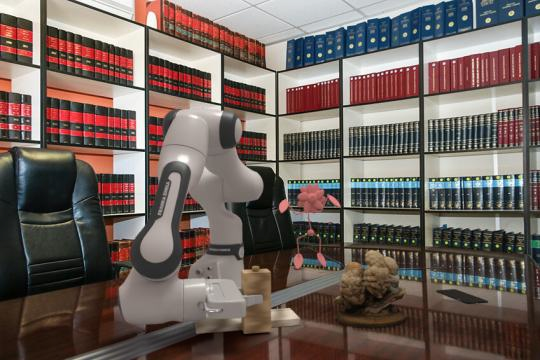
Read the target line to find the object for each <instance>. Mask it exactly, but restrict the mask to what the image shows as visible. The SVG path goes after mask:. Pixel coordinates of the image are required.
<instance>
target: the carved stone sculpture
mask: <svg viewBox="0 0 540 360" xmlns="http://www.w3.org/2000/svg"><path fill="white" fill-rule="evenodd" d="M364 261H365V263H366V268H365V267H364V266H363V265H362V264H360V263H359V262H356V261H350V262H348V263H346V266H345V268H344V269H345V270H344V273H343V274H341V277H340V284H339V292H340V294H341V295H337V297H335V298H334V299H335V300H334V302H335V303H336V304H337V305H341V306H343V309H341V310H340V311H339V313H337V314H336V315H335V318H336V321H337V322H338V323H339V324H341V325H343V326H345V327H350V328H360V329H361V328H367V329H372V328H389V327H394V326H397V325H401V324H403V323H404V322H405V321H406V315H405V314H404V313H403V312H402V311H401V310H400V309H398V308H397V307H396V306H395V304H393V303H394V302H397V301H399V300H402V299H403V297H404V295H406V294H407V291H406V287H405V286H400V276H399V274H398V273H399V270H400V269H399V268H400V267H399V265H398V263H397V260H396V259H394V258H392V257H390V256H384V255H383V254H381V252H379V251H377V250H373V249H370V250H368V251H367V252H366V253H365V254H364Z"/></svg>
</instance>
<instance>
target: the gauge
mask: <svg viewBox="0 0 540 360" xmlns="http://www.w3.org/2000/svg"><path fill="white" fill-rule="evenodd" d="M271 273H272V272H271V271H270V269H268V268H261V269H260V266H259V265H252V267H251V269H244V270H241V294H242V295H247V296H250V295H254V294H261V295H262V296H263V303H261V304H254V305H251V306H248V307H246V316H245V317H242V318H241V328H242V330H241V331H242V332H243V334H244V335H246V334H247V335H248V334H257V333H271V332H272V327H271V309H272V274H271Z"/></svg>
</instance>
